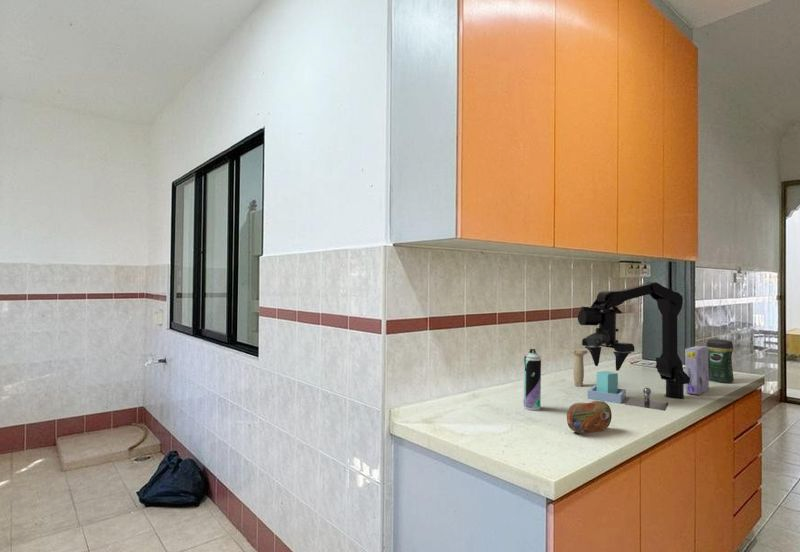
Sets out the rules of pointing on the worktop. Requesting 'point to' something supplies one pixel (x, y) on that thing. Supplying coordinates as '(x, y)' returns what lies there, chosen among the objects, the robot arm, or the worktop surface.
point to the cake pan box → (697, 369)
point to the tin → (589, 417)
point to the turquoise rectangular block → (607, 382)
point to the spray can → (532, 380)
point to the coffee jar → (720, 360)
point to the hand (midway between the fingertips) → (606, 368)
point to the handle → (578, 366)
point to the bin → (606, 395)
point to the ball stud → (647, 402)
